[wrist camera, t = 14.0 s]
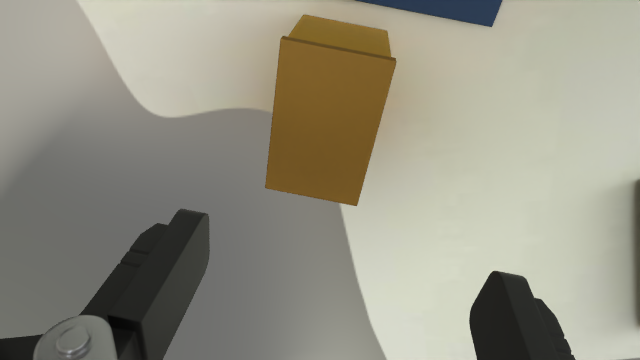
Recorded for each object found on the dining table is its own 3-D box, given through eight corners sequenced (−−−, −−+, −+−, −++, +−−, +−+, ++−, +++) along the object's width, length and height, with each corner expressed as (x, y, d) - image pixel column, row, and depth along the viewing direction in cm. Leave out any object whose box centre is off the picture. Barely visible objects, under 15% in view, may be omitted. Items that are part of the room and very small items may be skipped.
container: (390, 28, 26) (396, 61, 20) (359, 151, 31) (357, 206, 25) (301, 11, 26) (280, 38, 20) (285, 137, 31) (264, 188, 25)
